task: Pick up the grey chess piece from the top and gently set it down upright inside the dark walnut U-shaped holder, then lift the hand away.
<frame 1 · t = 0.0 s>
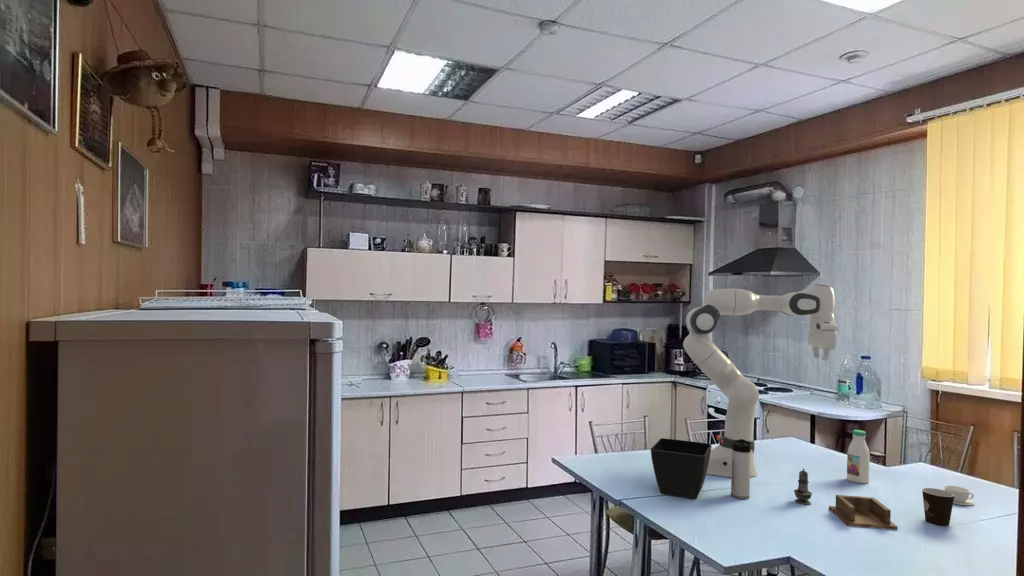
hand: (820, 359, 242), 48 cm above the table, tool pointing down, fingers open, 8 cm apart
u-rest: (861, 518, 198), on the table
travel mug: (740, 497, 216), on the table
grey chess piece: (802, 502, 212), on the table
teacup: (956, 502, 219), on the table
coffee mug: (936, 521, 198), on the table
flower pot: (680, 492, 219), on the table
milk bottle: (857, 481, 239), on the table
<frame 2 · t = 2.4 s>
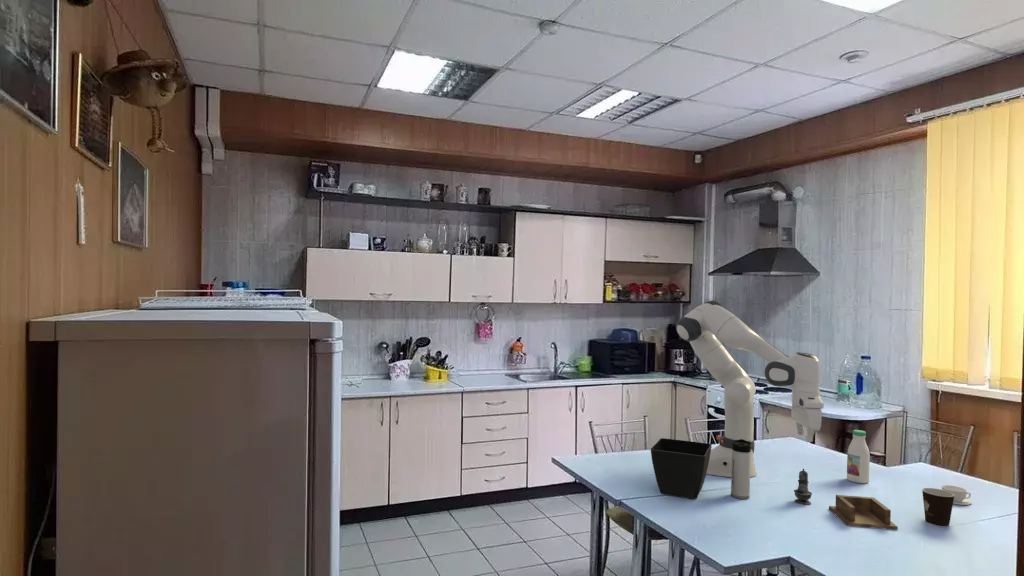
hand: (804, 437, 212), 23 cm above the table, tool pointing down, fingers open, 8 cm apart
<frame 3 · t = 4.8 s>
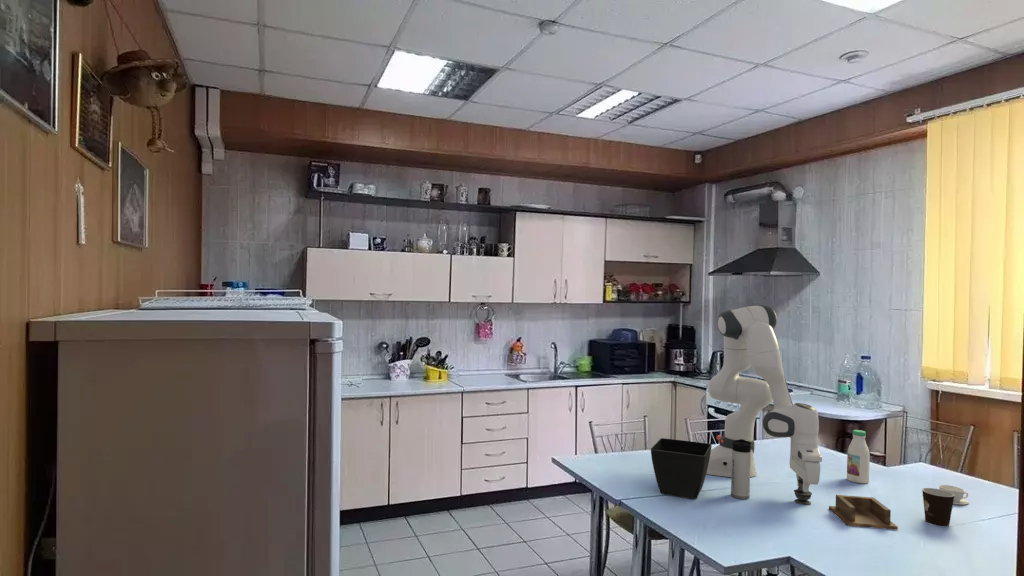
hand: (802, 489, 212), 5 cm above the table, tool pointing down, fingers closed on grey chess piece, 3 cm apart
grey chess piece: (802, 502, 212), on the table, touching gripper
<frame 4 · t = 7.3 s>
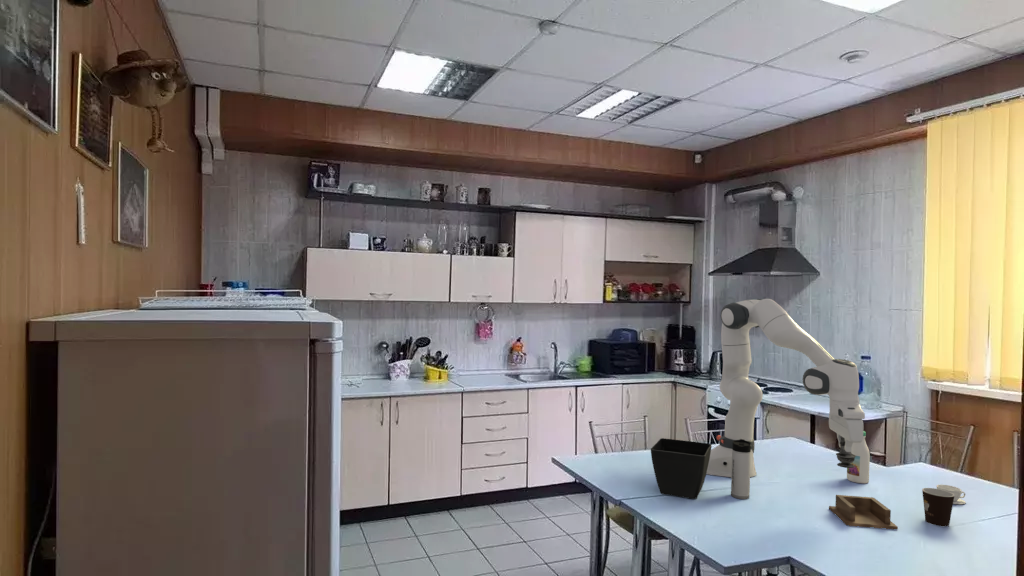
hand: (845, 449, 201), 22 cm above the table, tool pointing down, fingers closed on grey chess piece, 3 cm apart
grey chess piece: (845, 466, 201), point 16 cm above the table, touching gripper
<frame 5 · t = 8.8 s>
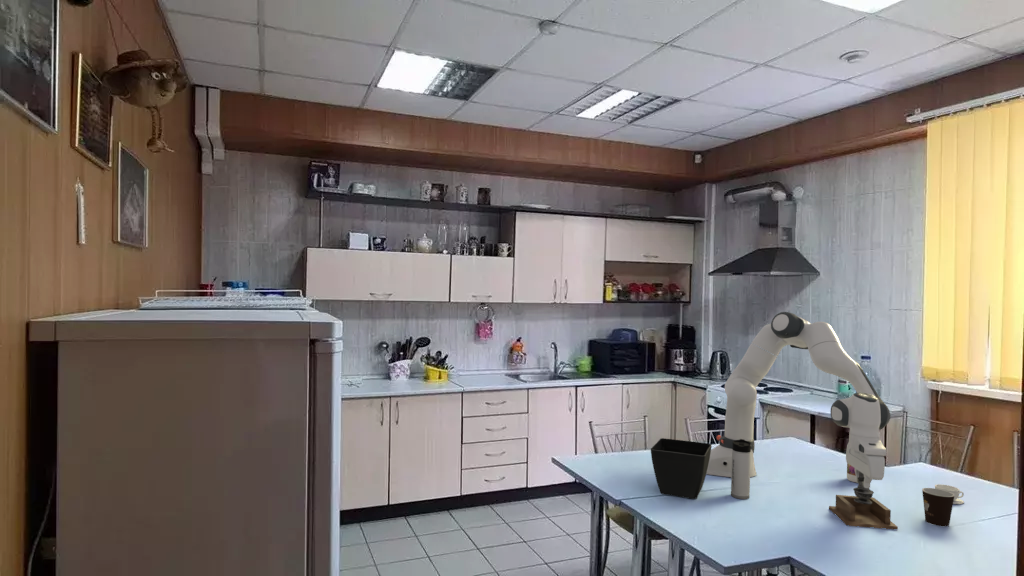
hand: (863, 485, 198), 11 cm above the table, tool pointing down, fingers closed on grey chess piece, 3 cm apart
grey chess piece: (863, 502, 198), point 5 cm above the table, touching gripper
when the fingers open (7 cm above the table, at t = 10.0 s): grey chess piece stays where it is, resting on u-rest.
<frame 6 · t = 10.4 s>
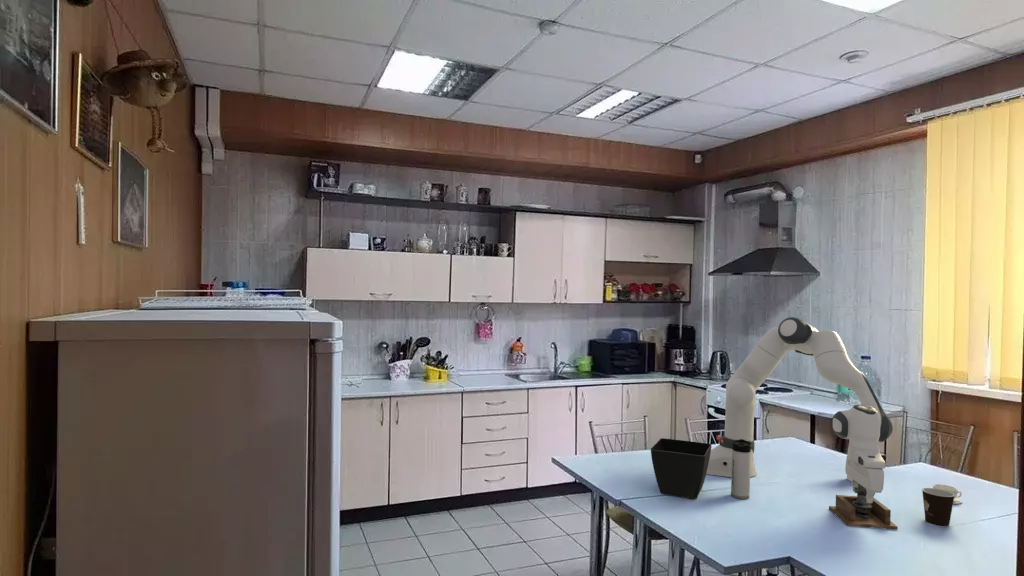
hand: (862, 497, 198), 7 cm above the table, tool pointing down, fingers open, 8 cm apart
grey chess piece: (861, 515, 198), point 1 cm above the table, touching u-rest
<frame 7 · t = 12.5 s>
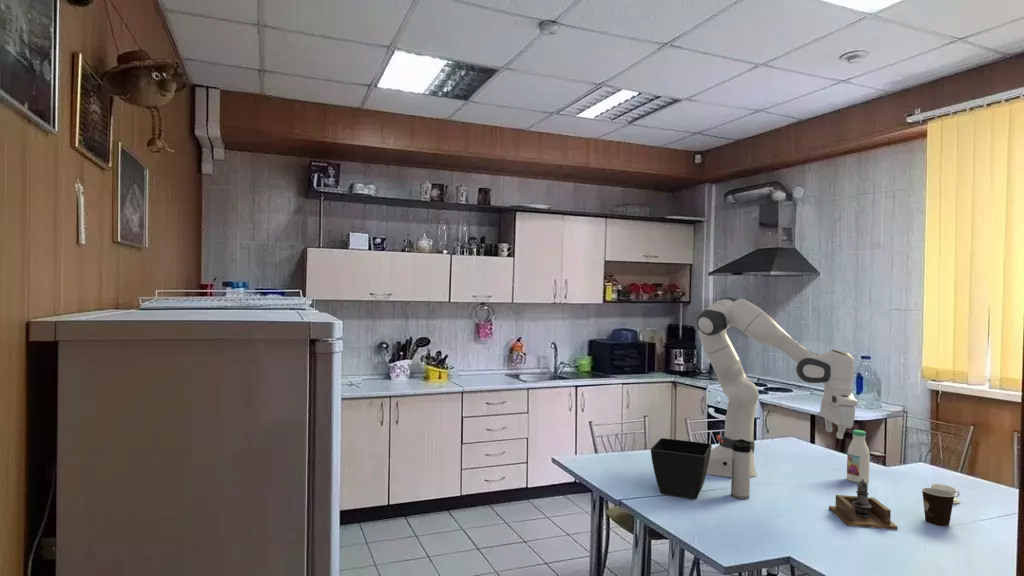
hand: (834, 434, 213), 24 cm above the table, tool pointing down, fingers open, 8 cm apart
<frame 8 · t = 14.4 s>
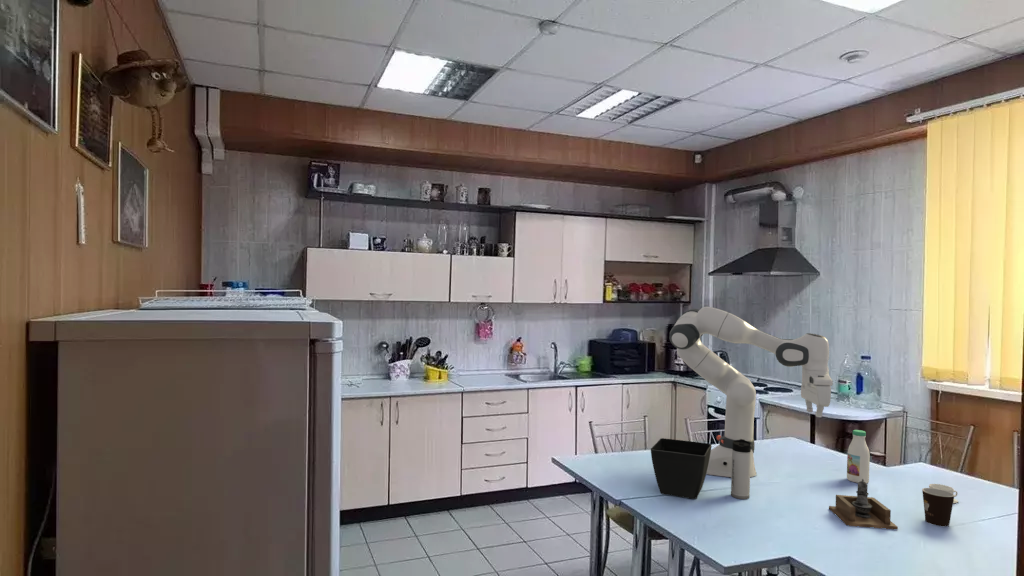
hand: (814, 414, 223), 29 cm above the table, tool pointing down, fingers open, 8 cm apart
at the end: grey chess piece 0.6 cm off-centre on the u-rest, point 0.8 cm above the u-rest's base; grey chess piece tilted 0°; the gripper is holding nothing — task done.
